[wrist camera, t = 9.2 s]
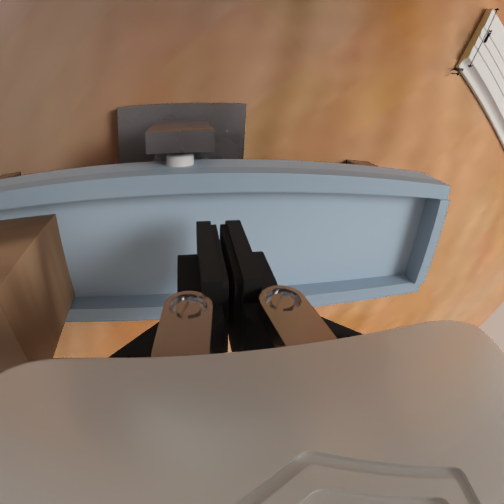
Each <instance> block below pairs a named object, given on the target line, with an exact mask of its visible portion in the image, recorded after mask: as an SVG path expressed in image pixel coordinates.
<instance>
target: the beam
mask: <svg viewBox="0 0 504 504" xmlns="http://www.w3.org/2000/svg"><path fill="white" fill-rule="evenodd" d="M450 187H451V186H449V185H447V184H445V183H443V182H441V181H439V180H437V179H435V178H433V177H431V176H429V175H427V174H425V173H423V172H417V171H410V170H402V169H394V168H385V167H376V166H366V165H355V164H343V163H329V162H313V161H294V160H263V159H201V160H194V154H193V153H171V154H167V155H166V161H150V162H135V163H122V164H110V165H99V166H89V167H80V168H72V169H64V170H56V171H49V172H42V173H35V174H29V175H23V176H17V177H11V178H6V179H0V220H6V219H14V218H22V217H31V216H40V215H49V214H56V218H57V223H58V228H59V233H60V237H61V242H62V246H63V250H64V255H65V259H66V263H67V266H68V270H69V274H70V278H71V281H72V285H73V288H74V292H75V297H74V299H73V302H72V304H71V307H70V310H69V312H68V315H67V318H66V320H65V322H97V321H137V320H160V317H161V313H162V309H163V306H164V303H165V301H166V300H167V299H168V298H169V297H170V296H171V295H173V294H175V293H177V257H178V255H189V254H197V239H196V221H211V225H214V224H216V226H217V231H218V235H219V240H220V224H225V221H226V220H240V221H241V224H242V226H243V229H244V231H245V234H246V237H247V239H248V242H249V244H250V247H251V249H252V252H258V251H262V252H263V253H264V255H265V257H266V259H267V261H268V264H269V266H270V268H271V270H272V273H273V275H274V277H275V279H276V281H277V284H278V285H283V286H289V287H292V288H295V289H297V290H298V291H300V292H301V293H302V294H303V295H304V296H305V297H306V299H307V300H308V301H309V302H310V304H311V305H312V306H313V307H316V306H324V305H332V304H339V303H347V302H354V301H361V300H368V299H375V298H381V297H388V296H394V295H400V294H406V293H412V292H418V290H419V288H420V285H421V283H424V281H425V278H426V276H427V273H428V270H429V267H430V264H431V262H432V259H433V256H434V253H435V250H436V247H437V243H438V240H439V237H440V234H441V231H442V227H443V224H444V220H445V217H446V213H447V209H448V206H449V202H450V201H449V200H447V199H448V195H449V191H450Z"/></svg>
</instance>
